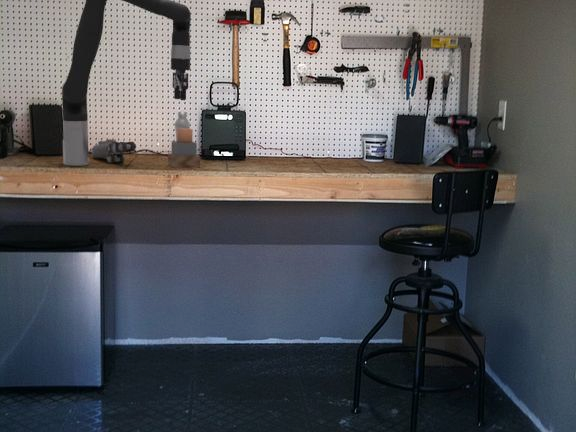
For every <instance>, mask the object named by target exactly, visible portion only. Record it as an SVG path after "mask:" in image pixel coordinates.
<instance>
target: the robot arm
mask: <svg viewBox="0 0 576 432" xmlns="http://www.w3.org/2000/svg"><path fill="white" fill-rule="evenodd" d="M107 1H108V0H85V3H84V7H83V9H82V11H81V12H82V13H81V15H80V18H79V22H78V25H77V28H76V29H77V30H76V33H75V37H74V41H73V48H72V58H71V65H70V68H69V72H68V75H67V77H66V79H65V81H64V83H63V85H62V87H61V102H62V103H61V104H62V120H63V121H62V125H63V126H62V128H63V129H62V131H63V134H62V136H63V139H62V159H63V160H62V161H63V162H62V163H63V165H64V166H72V167H73V166H74V167H75V166H81V167H82V166H88V165H89V129H88V128H89V124H88V122H89V119H88V90H89V89H88V88H89V80H90V74H91V70H92V67H93V65H94V63H95V62H94V61H95V59H96V56H97V54H98V51H99V47H100V44H101V40H102V36H103V31H104V29H103V28H104V21H105V19H104V17H105V10H106V5H107ZM121 1H123V2H125V3H128V4H131V5H133V6H135V7H137V8H140V9H142V10H144V11H147V12H149V13H152V14H154V15H157V16H161V17H165V18H167V19H168V20H172V34H171V49H170V70H174V71H175V72H172V88H173V92H174V93H173V94H174V95H173V99H174V100H180V101H186V100H187V91H188V90H189V72H186V71H190V70H191V34H190V33H191V32H190V31H191V30H190V29H191V20H192V19H191V17H192V14H191V10H190V9H189V7H188V6H187V5H184V4H182V3H180V2H178V1H173V0H121Z"/></svg>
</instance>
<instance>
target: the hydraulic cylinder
mask: <svg viewBox="0 0 576 432" xmlns="http://www.w3.org/2000/svg"><path fill="white" fill-rule="evenodd" d="M97 143H98V144H95V145H93V146H92V148H91V155H92V156H93V157H94V158H95V159H105V158H106V159H107V162H108V163H109V164H115V163H118V164H123V163H124V162H125V161H126V159H125V156H124V154H125V153H134V152H135V150H136V149H137V145H136V143H135V142H134V141H126V142H125V141H120V142H118V141H117V139H115V138H113V139H112V138H111V139H106V140H100V141H97Z"/></svg>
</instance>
